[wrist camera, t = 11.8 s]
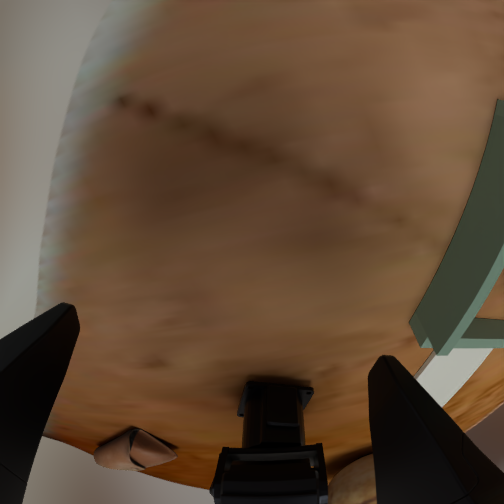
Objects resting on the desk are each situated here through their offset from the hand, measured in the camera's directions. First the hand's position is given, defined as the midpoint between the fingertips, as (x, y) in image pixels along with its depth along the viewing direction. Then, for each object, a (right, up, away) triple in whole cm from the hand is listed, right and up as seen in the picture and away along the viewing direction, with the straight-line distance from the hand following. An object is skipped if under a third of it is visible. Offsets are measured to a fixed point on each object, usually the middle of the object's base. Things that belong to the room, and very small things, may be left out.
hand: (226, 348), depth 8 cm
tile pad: (+22, -13, +21) cm, 33 cm away
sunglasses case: (-17, -30, +33) cm, 48 cm away
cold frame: (+25, +3, +11) cm, 28 cm away
